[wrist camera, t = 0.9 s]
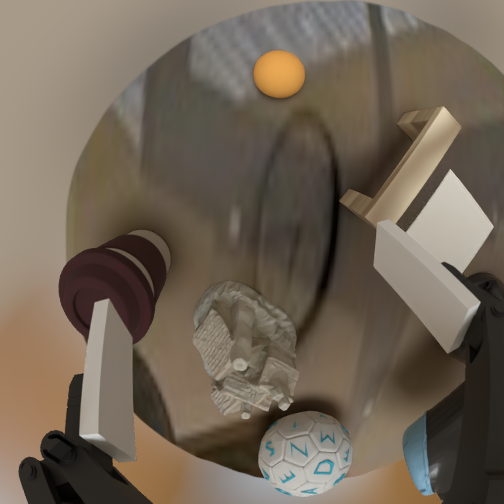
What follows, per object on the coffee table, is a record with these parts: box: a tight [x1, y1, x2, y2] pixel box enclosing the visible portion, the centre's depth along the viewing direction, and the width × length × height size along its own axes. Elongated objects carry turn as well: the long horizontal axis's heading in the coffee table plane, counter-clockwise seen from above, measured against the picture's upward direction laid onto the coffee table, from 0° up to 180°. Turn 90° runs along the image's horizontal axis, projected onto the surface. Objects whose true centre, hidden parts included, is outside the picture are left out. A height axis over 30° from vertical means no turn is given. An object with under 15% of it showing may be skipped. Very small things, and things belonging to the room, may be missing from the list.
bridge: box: [339, 106, 461, 229], centre depth 30 cm, size 3×14×9 cm, turn 144°
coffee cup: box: [59, 230, 171, 345], centre depth 31 cm, size 10×10×15 cm
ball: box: [253, 50, 305, 98], centre depth 29 cm, size 6×6×6 cm
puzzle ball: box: [259, 411, 353, 497], centre depth 41 cm, size 15×15×15 cm
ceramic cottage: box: [193, 280, 299, 419], centre depth 36 cm, size 16×16×15 cm
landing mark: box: [405, 169, 494, 273], centre depth 37 cm, size 13×13×1 cm
